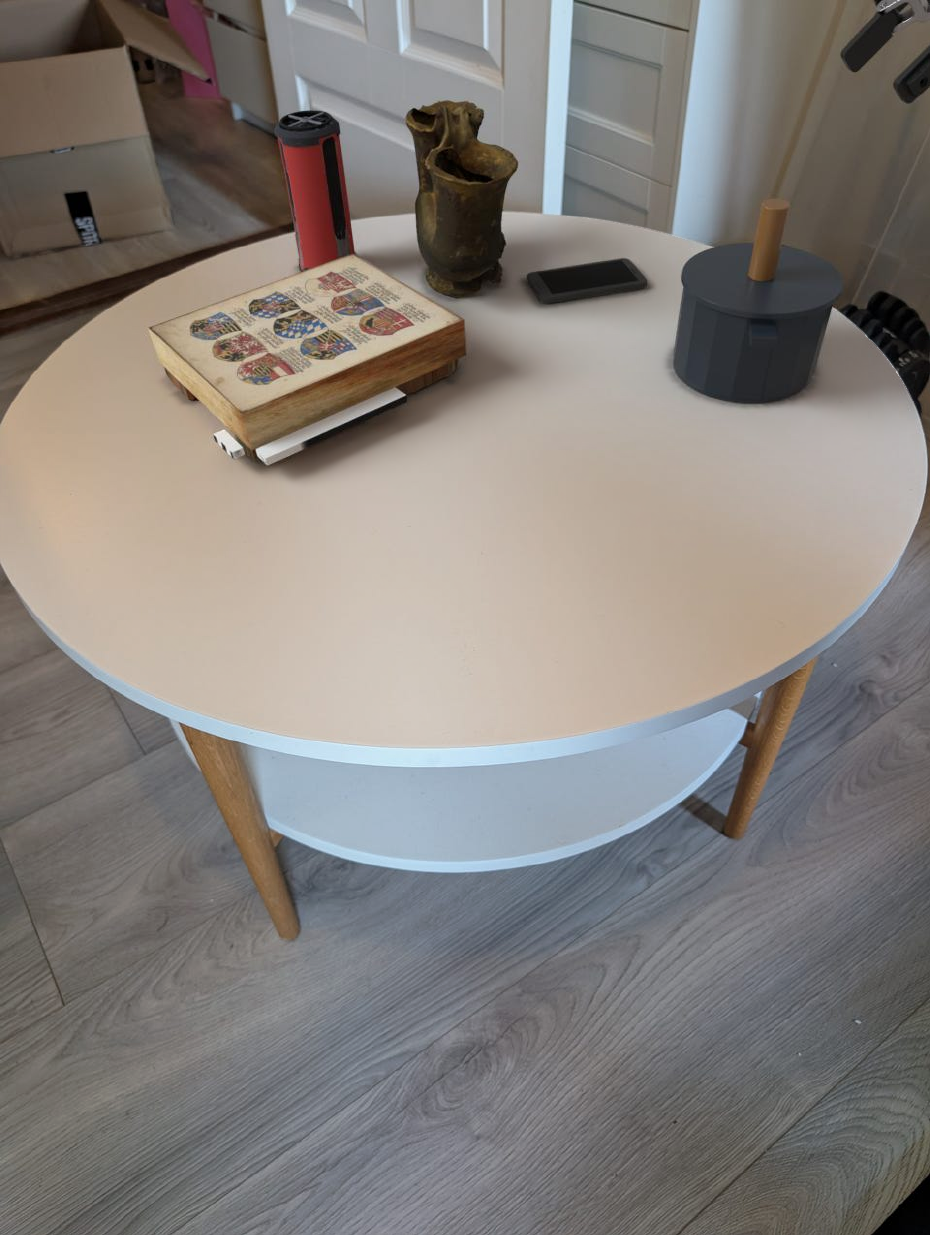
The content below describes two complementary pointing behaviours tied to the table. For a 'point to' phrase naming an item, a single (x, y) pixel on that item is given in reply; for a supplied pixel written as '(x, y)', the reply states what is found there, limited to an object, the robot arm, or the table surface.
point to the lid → (763, 274)
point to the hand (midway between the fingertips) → (872, 79)
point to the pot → (746, 353)
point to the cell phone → (586, 280)
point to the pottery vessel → (458, 196)
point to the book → (309, 355)
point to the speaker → (315, 186)
